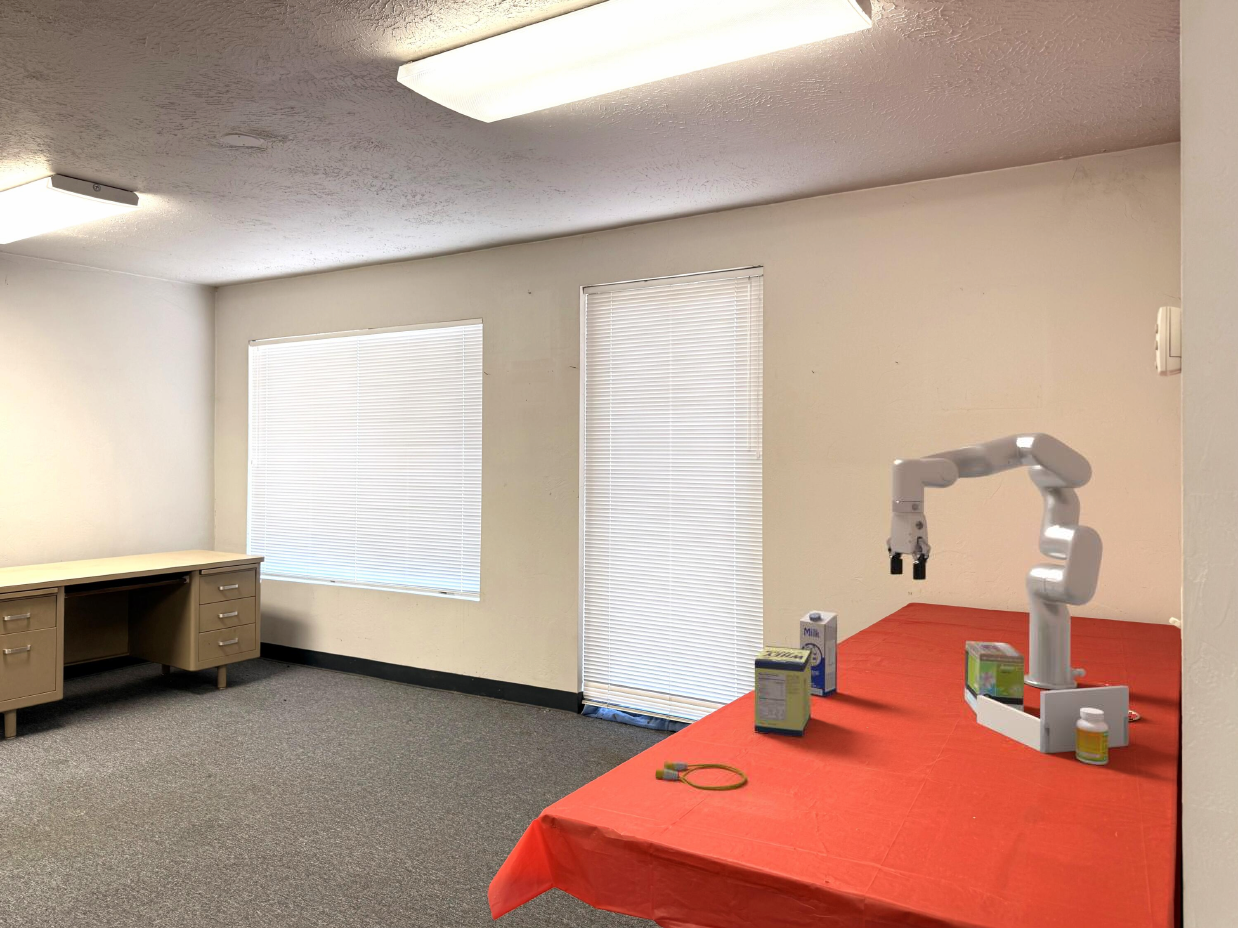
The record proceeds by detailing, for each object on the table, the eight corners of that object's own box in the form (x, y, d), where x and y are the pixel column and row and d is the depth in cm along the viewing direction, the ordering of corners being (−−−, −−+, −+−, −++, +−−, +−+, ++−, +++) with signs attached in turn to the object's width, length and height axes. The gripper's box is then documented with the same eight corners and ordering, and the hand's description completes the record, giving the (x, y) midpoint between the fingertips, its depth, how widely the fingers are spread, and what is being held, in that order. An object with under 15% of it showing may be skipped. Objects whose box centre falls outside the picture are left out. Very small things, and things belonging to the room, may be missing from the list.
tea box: (1025, 721, 184) (1025, 655, 184) (977, 718, 186) (977, 652, 186) (1007, 702, 199) (1007, 641, 199) (963, 699, 201) (963, 639, 201)
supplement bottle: (1107, 767, 156) (1107, 716, 156) (1075, 761, 159) (1075, 711, 159) (1108, 758, 161) (1108, 709, 161) (1076, 753, 164) (1077, 704, 164)
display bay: (1053, 716, 188) (1054, 663, 188) (1128, 745, 168) (1128, 686, 168) (976, 722, 183) (977, 668, 183) (1044, 753, 163) (1044, 693, 163)
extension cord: (683, 760, 160) (683, 749, 160) (756, 778, 151) (756, 767, 151) (648, 779, 150) (648, 768, 150) (724, 800, 141) (724, 788, 141)
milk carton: (837, 691, 207) (837, 612, 207) (824, 697, 202) (824, 616, 202) (812, 686, 212) (812, 609, 212) (798, 691, 207) (799, 612, 207)
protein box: (811, 717, 186) (811, 648, 186) (803, 738, 172) (803, 664, 172) (765, 712, 190) (765, 644, 190) (753, 732, 175) (753, 659, 175)
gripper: (942, 510, 197) (942, 581, 197) (901, 506, 214) (901, 572, 214) (915, 510, 196) (914, 582, 196) (875, 506, 212) (875, 572, 212)
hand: (907, 576), depth 205 cm, fingers open, 9 cm apart
